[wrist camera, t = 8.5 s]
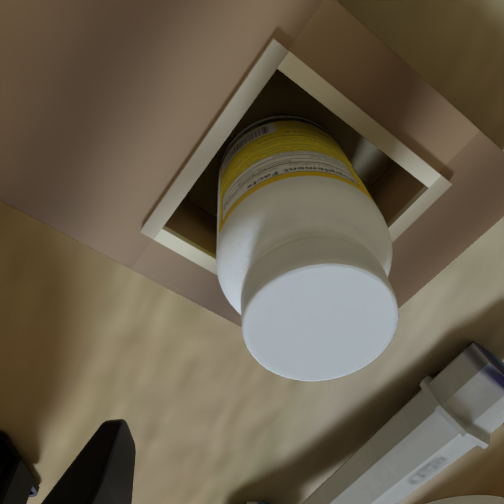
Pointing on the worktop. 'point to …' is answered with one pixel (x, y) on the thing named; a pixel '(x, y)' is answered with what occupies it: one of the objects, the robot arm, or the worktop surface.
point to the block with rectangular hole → (218, 128)
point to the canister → (470, 500)
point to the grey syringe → (423, 434)
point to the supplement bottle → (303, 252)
